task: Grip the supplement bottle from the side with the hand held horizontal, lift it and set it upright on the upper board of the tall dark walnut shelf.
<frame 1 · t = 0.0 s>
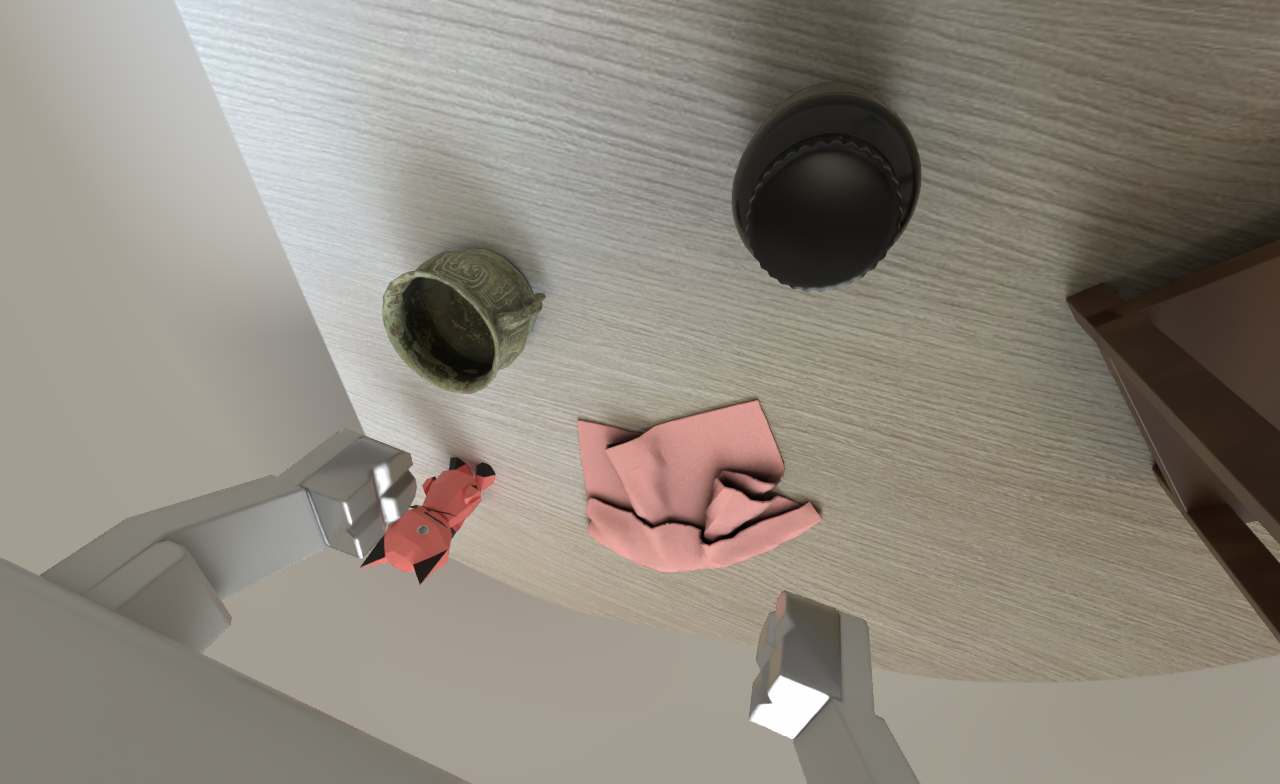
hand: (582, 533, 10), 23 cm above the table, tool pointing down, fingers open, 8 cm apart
cloth: (691, 492, 42), on the table
vessel: (493, 297, 37), on the table
cat figurine: (475, 474, 49), on the table
supplement bottle: (822, 158, 26), on the table
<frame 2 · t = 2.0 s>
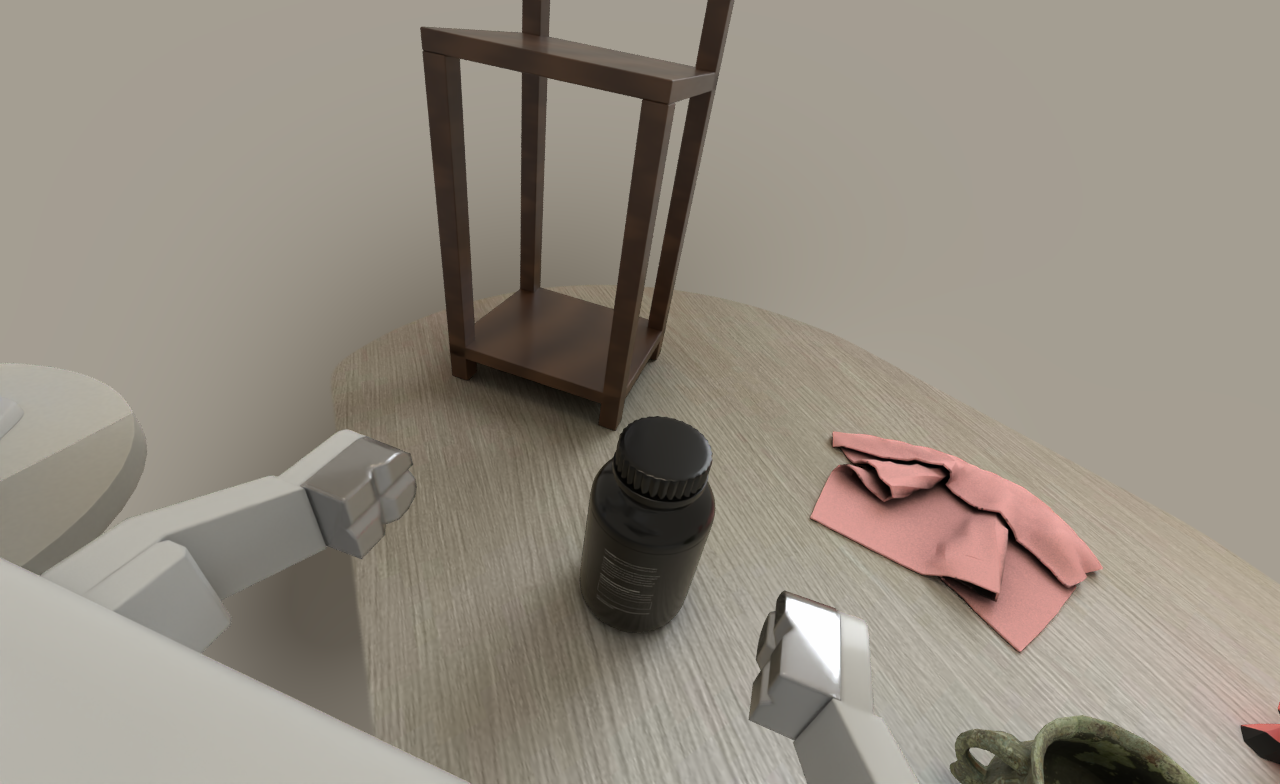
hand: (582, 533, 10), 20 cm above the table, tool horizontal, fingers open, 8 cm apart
cloth: (933, 514, 41), on the table
shelf: (564, 363, 50), on the table
supplement bottle: (631, 584, 32), on the table
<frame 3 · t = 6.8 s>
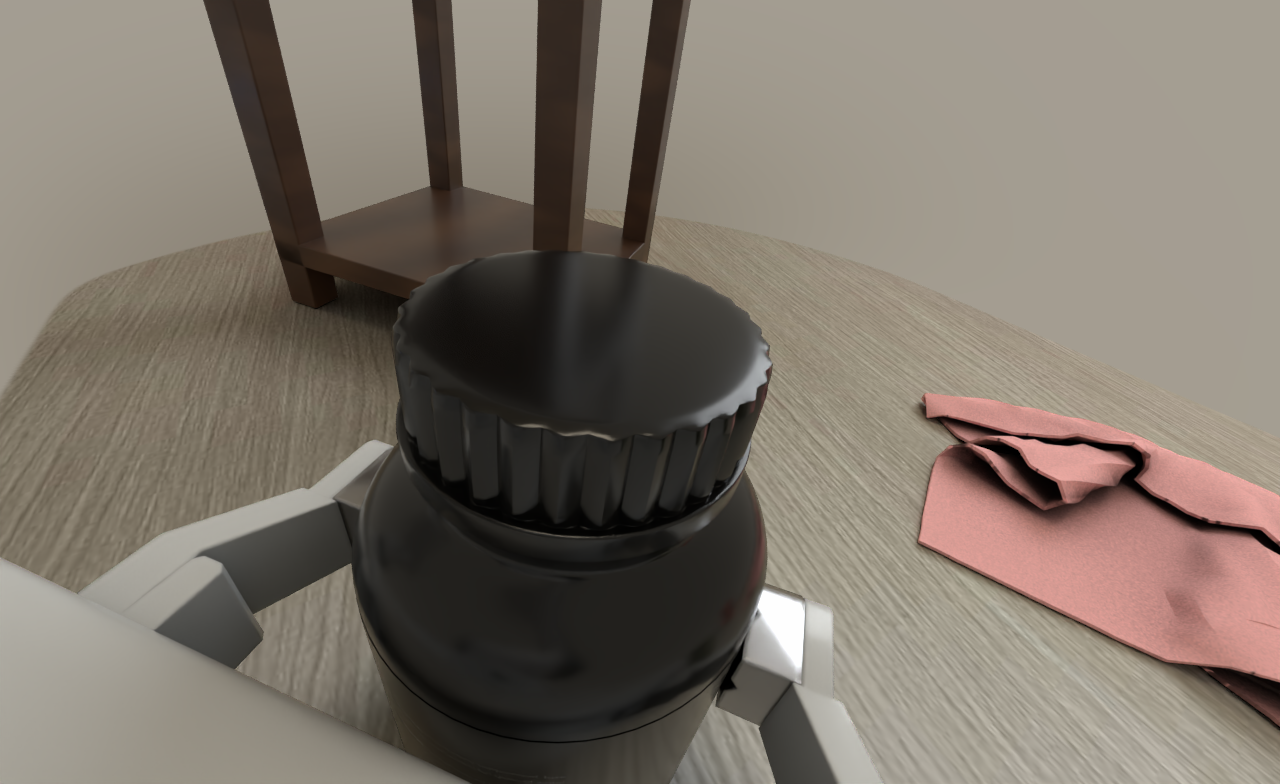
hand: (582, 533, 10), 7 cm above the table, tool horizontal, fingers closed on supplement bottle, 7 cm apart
cloth: (1126, 532, 23), on the table
shelf: (491, 291, 31), on the table
supplement bottle: (552, 711, 14), on the table, touching gripper
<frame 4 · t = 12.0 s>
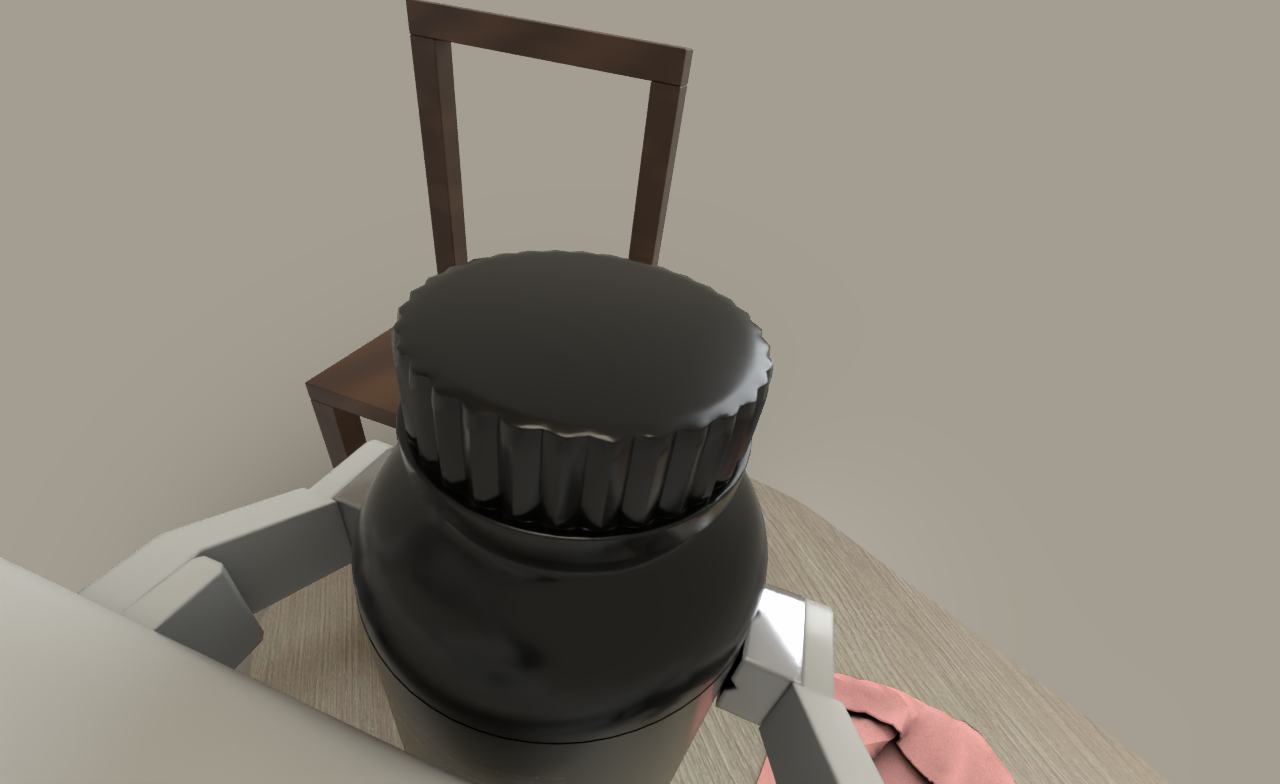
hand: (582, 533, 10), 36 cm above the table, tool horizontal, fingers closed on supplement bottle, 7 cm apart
shelf: (506, 584, 48), on the table
supplement bottle: (552, 712, 14), point 30 cm above the table, touching gripper
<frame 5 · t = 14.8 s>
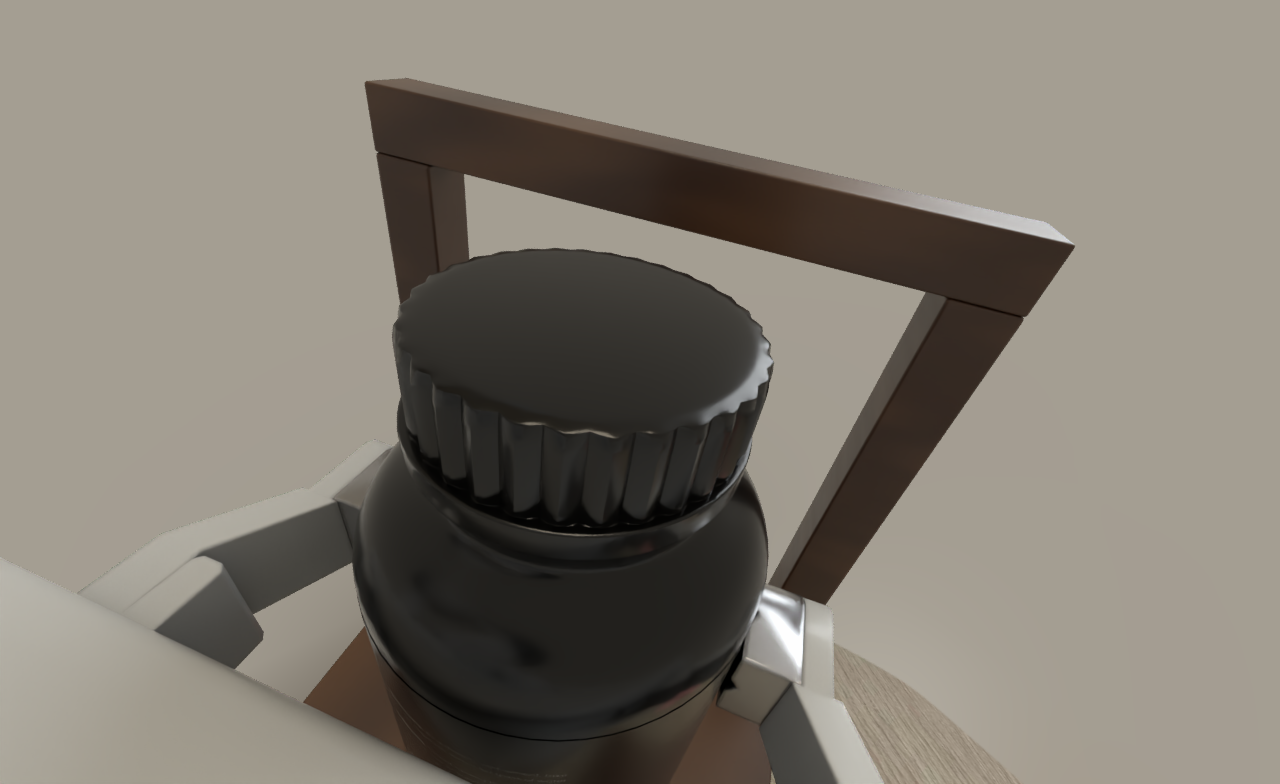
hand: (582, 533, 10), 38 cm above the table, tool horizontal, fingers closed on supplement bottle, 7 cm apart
supplement bottle: (552, 710, 14), point 31 cm above the table, touching gripper
when the fingers open (32 cm above the table, at t = 17.0 s): supplement bottle stays where it is, resting on shelf.
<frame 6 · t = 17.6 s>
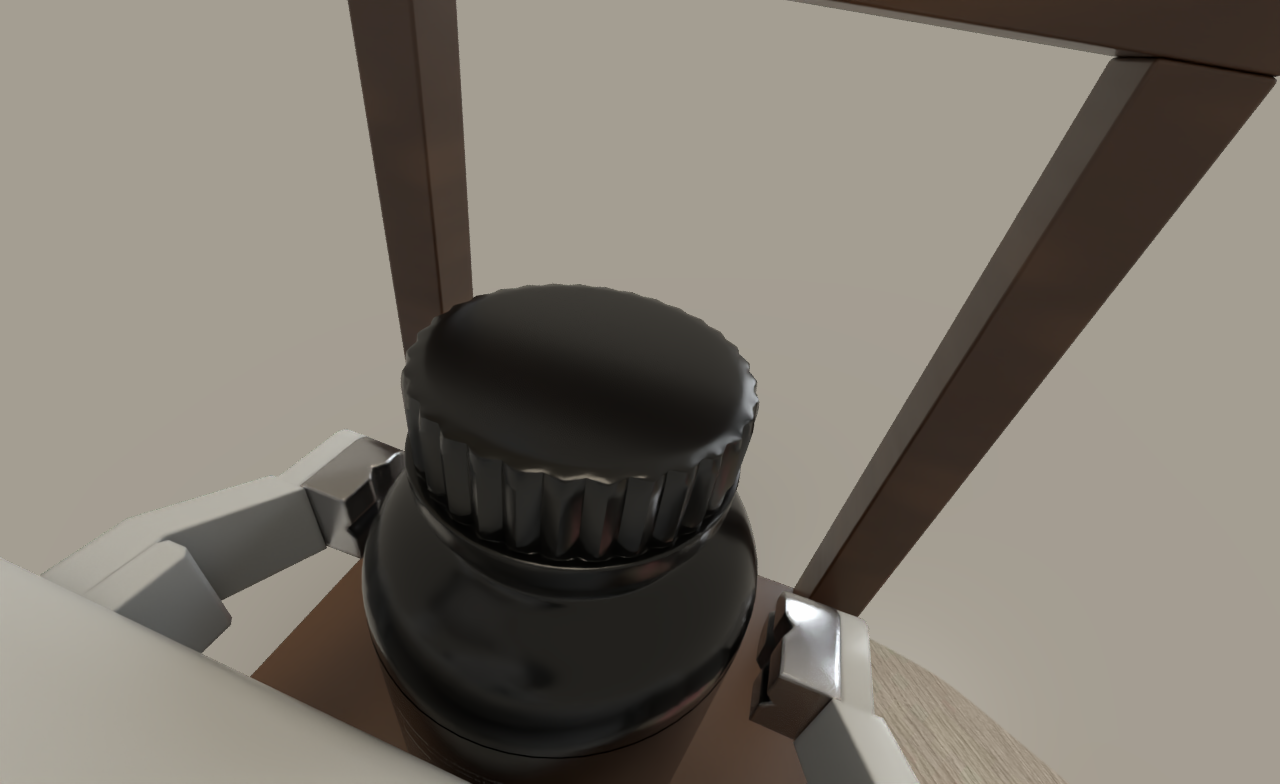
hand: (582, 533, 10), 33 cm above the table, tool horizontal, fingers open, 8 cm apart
supplement bottle: (552, 719, 14), point 26 cm above the table, touching shelf
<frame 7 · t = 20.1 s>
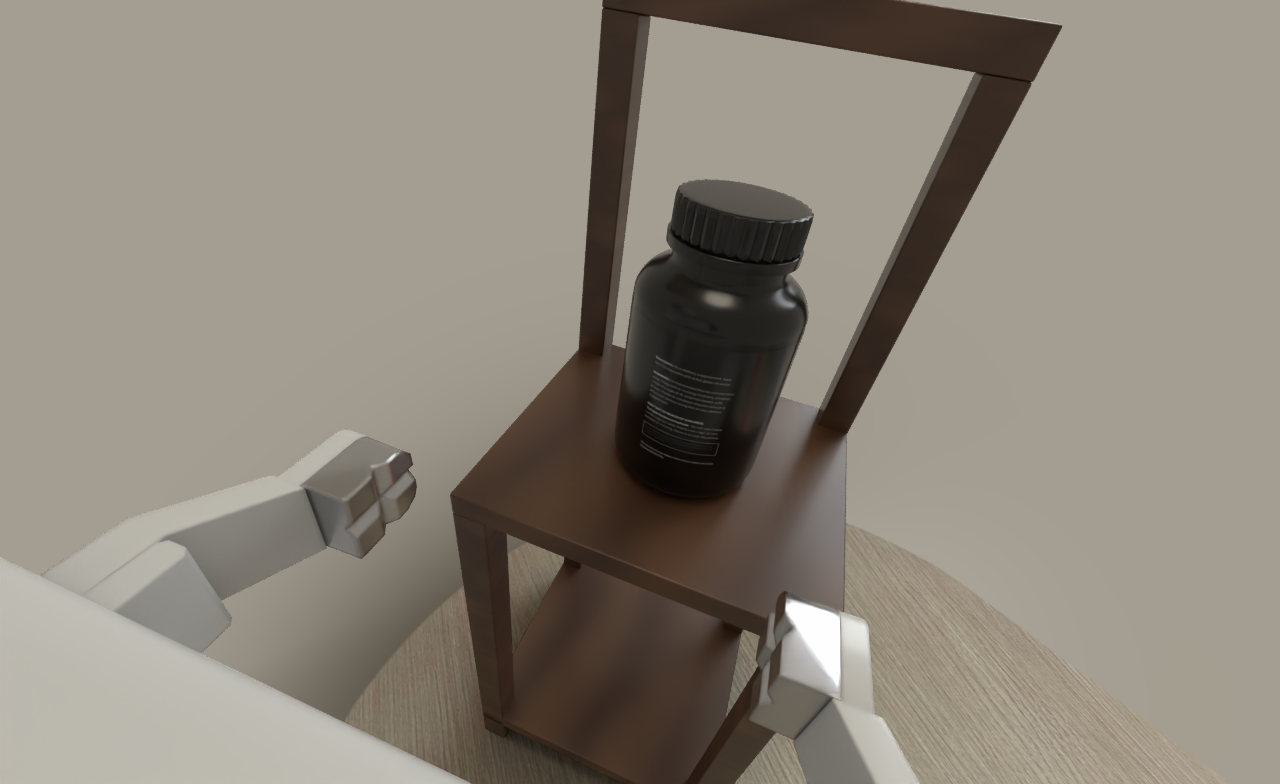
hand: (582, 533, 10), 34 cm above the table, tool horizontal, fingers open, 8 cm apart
shelf: (621, 678, 40), on the table
supplement bottle: (681, 452, 24), point 26 cm above the table, touching shelf
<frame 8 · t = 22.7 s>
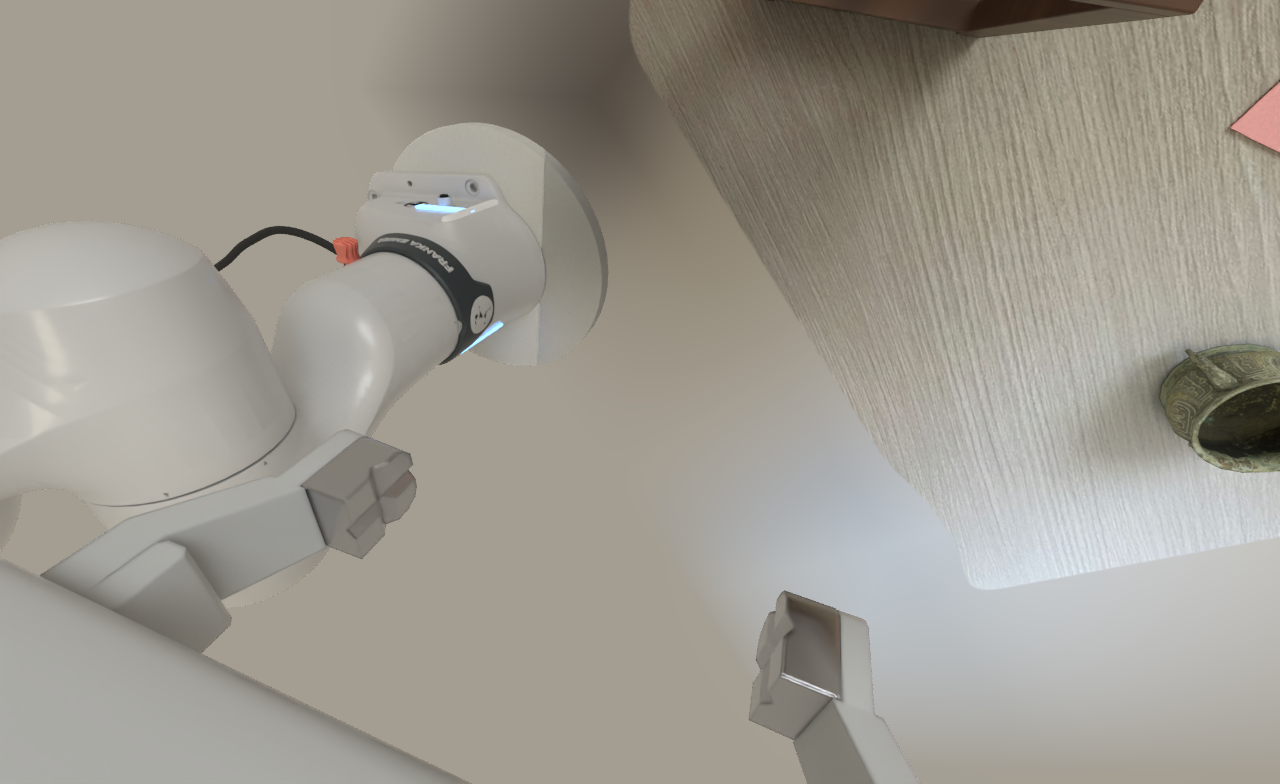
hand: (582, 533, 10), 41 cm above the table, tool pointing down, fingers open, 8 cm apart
vessel: (1219, 382, 41), on the table
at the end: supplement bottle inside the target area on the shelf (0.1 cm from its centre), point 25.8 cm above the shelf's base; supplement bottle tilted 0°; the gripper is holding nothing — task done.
